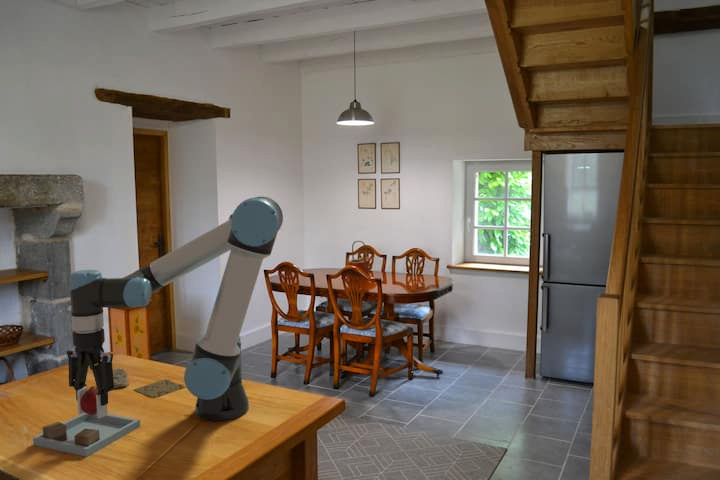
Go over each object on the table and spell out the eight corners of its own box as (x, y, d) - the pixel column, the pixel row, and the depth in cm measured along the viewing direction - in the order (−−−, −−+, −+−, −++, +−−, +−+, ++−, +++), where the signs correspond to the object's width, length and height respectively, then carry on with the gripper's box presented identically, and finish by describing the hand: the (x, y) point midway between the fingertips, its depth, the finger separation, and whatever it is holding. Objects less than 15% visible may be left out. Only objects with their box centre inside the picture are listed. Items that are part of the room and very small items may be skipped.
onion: (95, 421, 148) (93, 391, 147) (75, 418, 149) (74, 389, 148) (109, 411, 154) (108, 383, 153) (90, 409, 155) (89, 381, 154)
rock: (98, 383, 190) (100, 387, 182) (101, 365, 191) (104, 368, 183) (125, 385, 194) (129, 389, 186) (129, 368, 195) (132, 371, 187)
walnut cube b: (67, 440, 148) (66, 425, 147) (51, 446, 144) (50, 430, 144) (59, 435, 150) (58, 421, 150) (43, 441, 147) (42, 426, 146)
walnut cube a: (100, 445, 145) (99, 429, 144) (89, 452, 141) (88, 437, 140) (85, 443, 146) (85, 428, 145) (75, 451, 142) (74, 435, 141)
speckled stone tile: (165, 380, 193) (165, 377, 193) (186, 388, 186) (186, 385, 185) (132, 391, 184) (132, 388, 184) (153, 400, 176) (153, 397, 176)
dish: (140, 428, 155) (139, 419, 155) (87, 459, 139) (86, 449, 139) (90, 418, 162) (89, 410, 162) (33, 446, 145) (32, 437, 145)
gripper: (127, 329, 149) (131, 414, 152) (73, 322, 156) (77, 404, 158) (105, 336, 142) (109, 425, 145) (49, 329, 149) (54, 414, 151)
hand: (92, 414), depth 152 cm, fingers closed on onion, 6 cm apart
